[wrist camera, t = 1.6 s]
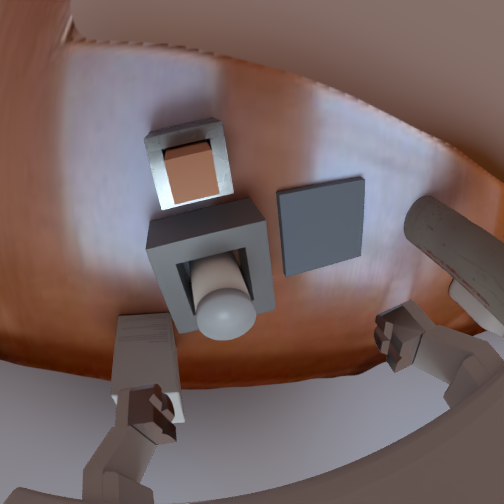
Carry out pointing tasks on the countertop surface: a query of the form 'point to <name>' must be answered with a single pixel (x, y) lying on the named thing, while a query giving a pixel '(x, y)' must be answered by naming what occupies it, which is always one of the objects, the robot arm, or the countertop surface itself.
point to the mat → (321, 224)
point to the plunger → (191, 171)
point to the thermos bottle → (460, 250)
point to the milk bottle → (475, 308)
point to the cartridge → (221, 297)
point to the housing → (206, 244)
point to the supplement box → (147, 357)
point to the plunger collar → (181, 135)
